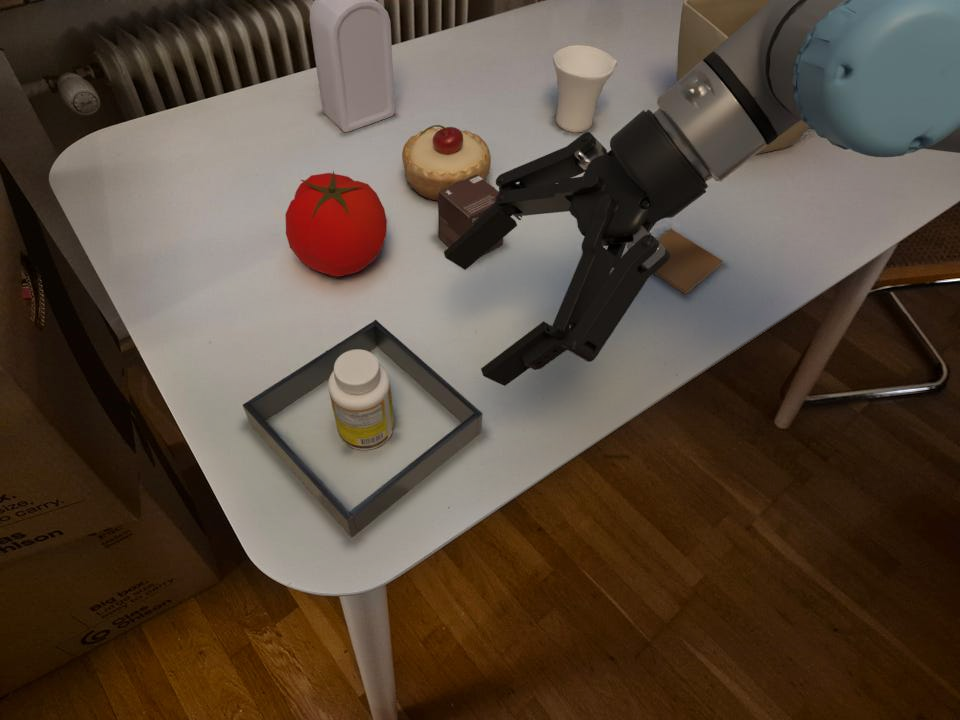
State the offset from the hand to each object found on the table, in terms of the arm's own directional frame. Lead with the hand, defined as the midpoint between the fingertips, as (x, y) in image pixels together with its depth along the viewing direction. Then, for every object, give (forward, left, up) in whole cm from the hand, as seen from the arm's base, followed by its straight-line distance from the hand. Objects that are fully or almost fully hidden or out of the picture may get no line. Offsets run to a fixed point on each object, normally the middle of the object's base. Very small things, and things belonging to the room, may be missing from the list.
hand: (471, 315), depth 57 cm
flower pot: (+9, -66, -14) cm, 68 cm away
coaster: (-2, -35, -14) cm, 38 cm away
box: (+18, -18, -15) cm, 29 cm away
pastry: (+29, -24, -15) cm, 40 cm away
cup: (+27, -49, -15) cm, 58 cm away
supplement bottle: (+5, +9, -15) cm, 18 cm away
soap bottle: (+49, -25, -15) cm, 57 cm away
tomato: (+26, -4, -15) cm, 30 cm away
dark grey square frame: (+5, +9, -14) cm, 18 cm away
